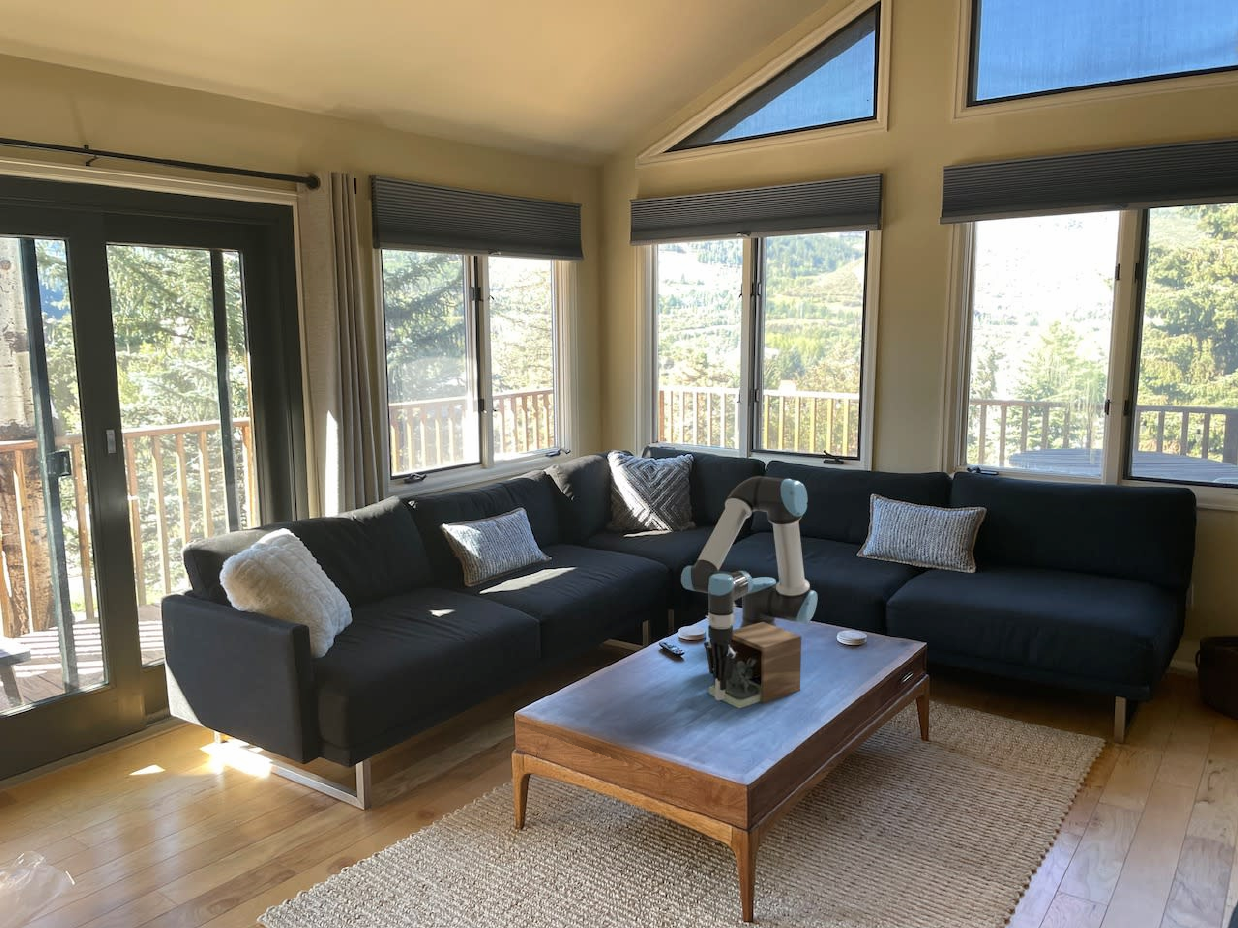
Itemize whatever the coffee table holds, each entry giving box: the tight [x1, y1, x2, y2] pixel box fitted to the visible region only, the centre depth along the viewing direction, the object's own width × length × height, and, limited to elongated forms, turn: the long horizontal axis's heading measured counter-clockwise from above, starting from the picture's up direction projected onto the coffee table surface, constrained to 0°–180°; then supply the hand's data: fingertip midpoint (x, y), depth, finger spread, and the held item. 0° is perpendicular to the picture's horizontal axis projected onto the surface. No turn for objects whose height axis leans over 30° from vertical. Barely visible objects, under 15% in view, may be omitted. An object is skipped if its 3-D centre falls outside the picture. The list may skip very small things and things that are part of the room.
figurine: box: [725, 658, 758, 699], centre depth 298 cm, size 11×11×12 cm
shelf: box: [731, 622, 802, 704], centre depth 303 cm, size 17×16×18 cm
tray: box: [708, 679, 761, 709], centre depth 299 cm, size 14×14×2 cm
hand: (720, 698), depth 294 cm, fingers closed
